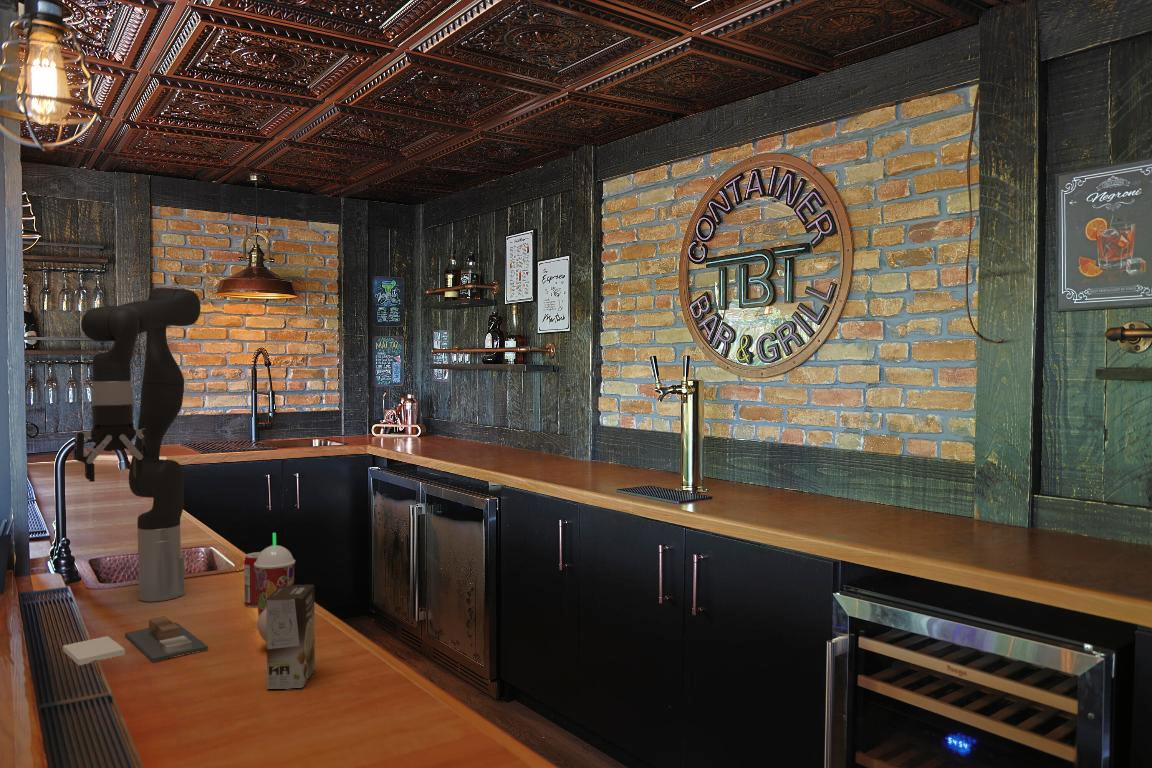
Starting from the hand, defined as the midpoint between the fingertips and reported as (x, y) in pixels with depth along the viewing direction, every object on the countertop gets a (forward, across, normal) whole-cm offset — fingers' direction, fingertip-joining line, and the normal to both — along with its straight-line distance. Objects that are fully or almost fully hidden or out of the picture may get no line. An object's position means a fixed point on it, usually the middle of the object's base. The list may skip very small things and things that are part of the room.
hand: (114, 479), depth 176 cm
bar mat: (+32, -5, +16) cm, 36 cm away
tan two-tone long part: (+31, -5, +18) cm, 36 cm away
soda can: (+32, -29, +2) cm, 43 cm away
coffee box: (+32, -16, +52) cm, 63 cm away
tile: (+32, +7, +7) cm, 33 cm away
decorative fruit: (+32, -21, +35) cm, 52 cm away
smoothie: (+32, -26, +20) cm, 46 cm away
